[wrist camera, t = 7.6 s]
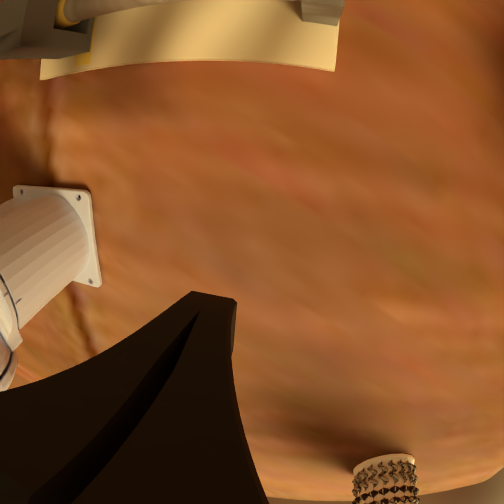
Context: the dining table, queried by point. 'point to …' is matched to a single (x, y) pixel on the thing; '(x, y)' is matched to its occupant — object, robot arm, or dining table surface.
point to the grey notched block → (39, 31)
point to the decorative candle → (386, 480)
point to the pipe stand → (200, 32)
